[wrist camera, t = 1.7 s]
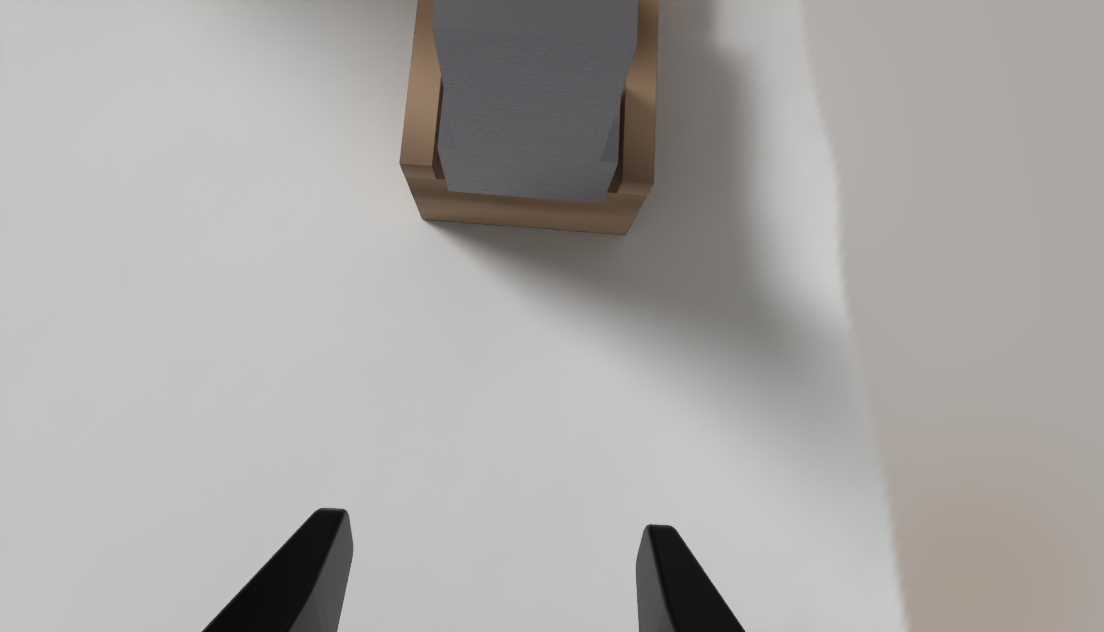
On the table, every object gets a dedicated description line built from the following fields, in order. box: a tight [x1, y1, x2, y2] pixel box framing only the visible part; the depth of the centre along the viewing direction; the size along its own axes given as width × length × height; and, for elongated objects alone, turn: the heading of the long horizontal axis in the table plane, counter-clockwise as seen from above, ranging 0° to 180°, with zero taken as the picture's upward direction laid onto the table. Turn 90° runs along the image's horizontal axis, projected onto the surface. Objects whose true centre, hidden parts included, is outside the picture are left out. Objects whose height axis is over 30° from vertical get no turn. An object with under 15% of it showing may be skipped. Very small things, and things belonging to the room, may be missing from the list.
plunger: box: [432, 0, 638, 203], centre depth 17 cm, size 4×5×8 cm
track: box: [400, 0, 658, 235], centre depth 23 cm, size 10×8×5 cm
